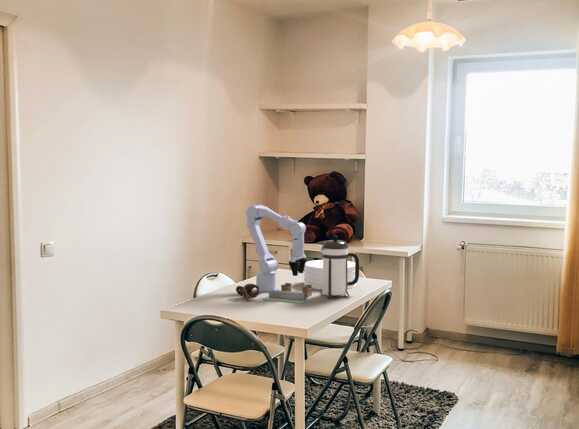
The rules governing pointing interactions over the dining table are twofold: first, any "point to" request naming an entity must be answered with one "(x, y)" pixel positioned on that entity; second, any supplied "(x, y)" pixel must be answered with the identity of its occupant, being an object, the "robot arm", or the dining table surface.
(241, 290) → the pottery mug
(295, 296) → the rail
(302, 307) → the dining table surface
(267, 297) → the mat
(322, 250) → the coffee press
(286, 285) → the bracket left
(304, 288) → the bracket right
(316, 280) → the plate stack
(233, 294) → the dining table surface
